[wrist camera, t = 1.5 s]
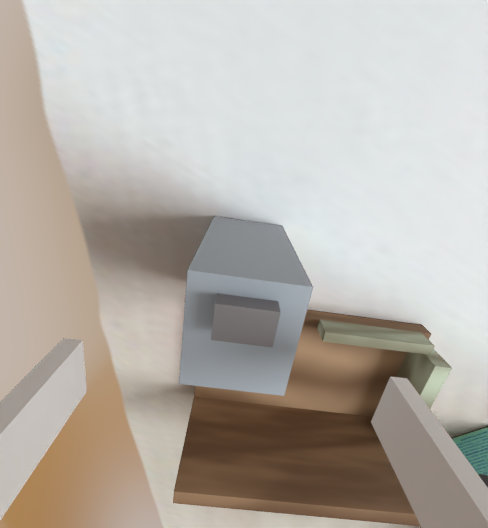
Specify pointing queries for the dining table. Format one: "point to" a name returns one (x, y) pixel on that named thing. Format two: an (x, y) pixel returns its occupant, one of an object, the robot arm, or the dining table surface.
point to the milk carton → (475, 449)
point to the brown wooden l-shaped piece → (311, 427)
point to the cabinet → (243, 308)
